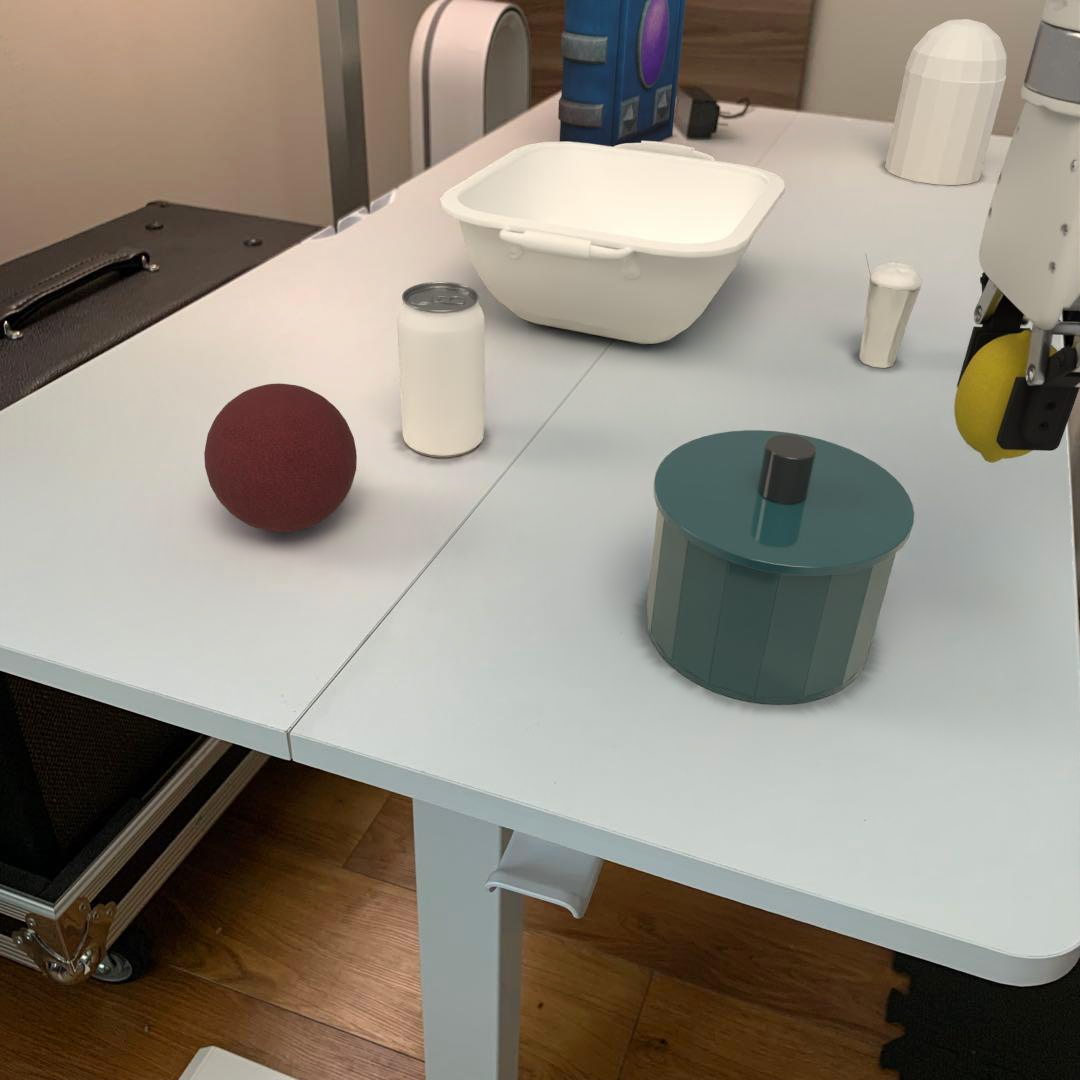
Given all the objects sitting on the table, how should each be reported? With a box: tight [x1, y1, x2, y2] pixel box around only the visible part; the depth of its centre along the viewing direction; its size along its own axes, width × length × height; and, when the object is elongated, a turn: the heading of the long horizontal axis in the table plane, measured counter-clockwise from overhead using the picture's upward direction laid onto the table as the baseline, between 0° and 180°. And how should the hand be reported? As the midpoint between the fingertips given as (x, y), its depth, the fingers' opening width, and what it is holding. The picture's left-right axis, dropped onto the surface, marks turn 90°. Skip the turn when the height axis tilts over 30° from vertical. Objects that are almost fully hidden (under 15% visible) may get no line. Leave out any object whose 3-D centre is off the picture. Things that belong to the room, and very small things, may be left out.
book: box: [557, 0, 686, 147], centre depth 150 cm, size 24×9×30 cm, turn 147°
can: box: [396, 281, 485, 459], centre depth 82 cm, size 6×6×12 cm
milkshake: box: [858, 253, 923, 369], centre depth 97 cm, size 4×5×10 cm
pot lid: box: [652, 429, 915, 576], centre depth 60 cm, size 15×15×4 cm
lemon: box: [953, 329, 1058, 464], centre depth 59 cm, size 6×6×8 cm
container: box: [884, 18, 1008, 186], centre depth 148 cm, size 13×13×20 cm
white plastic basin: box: [438, 141, 786, 345], centre depth 104 cm, size 34×28×13 cm
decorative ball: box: [203, 383, 358, 533], centre depth 72 cm, size 10×10×10 cm
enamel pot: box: [646, 508, 897, 705], centre depth 64 cm, size 14×14×10 cm
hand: (1004, 416), depth 60 cm, fingers closed on lemon, 5 cm apart
